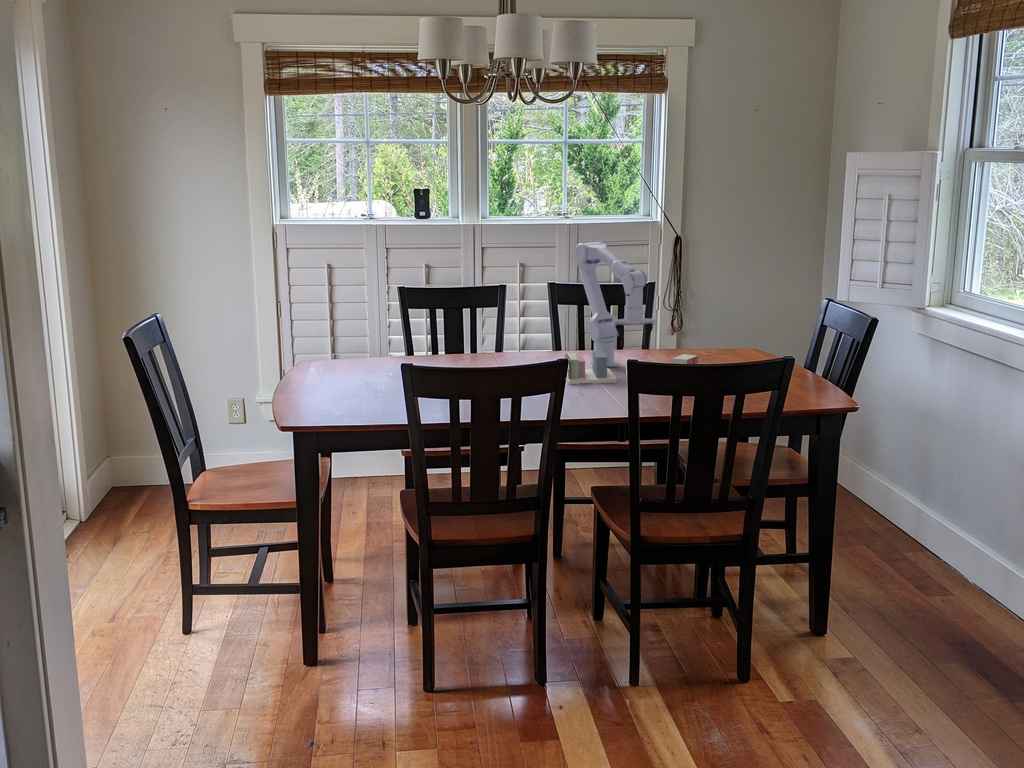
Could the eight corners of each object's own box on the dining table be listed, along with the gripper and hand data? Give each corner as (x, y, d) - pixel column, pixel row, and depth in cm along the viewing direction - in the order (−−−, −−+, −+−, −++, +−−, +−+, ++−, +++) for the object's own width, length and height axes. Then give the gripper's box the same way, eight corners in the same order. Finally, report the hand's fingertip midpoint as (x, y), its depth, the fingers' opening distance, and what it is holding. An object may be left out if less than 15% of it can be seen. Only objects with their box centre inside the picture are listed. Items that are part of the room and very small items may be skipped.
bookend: (564, 371, 338) (564, 354, 336) (567, 371, 338) (567, 354, 336) (568, 379, 326) (568, 361, 325) (571, 379, 326) (571, 361, 325)
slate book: (592, 371, 337) (592, 351, 335) (602, 370, 337) (602, 350, 335) (596, 377, 327) (596, 357, 326) (607, 377, 327) (607, 356, 326)
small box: (686, 392, 311) (686, 359, 308) (670, 390, 314) (670, 357, 312) (697, 387, 317) (698, 355, 315) (682, 385, 320) (682, 353, 318)
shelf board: (563, 373, 340) (563, 369, 340) (609, 371, 341) (609, 368, 340) (568, 384, 324) (568, 380, 324) (616, 382, 325) (616, 379, 325)
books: (567, 371, 337) (567, 353, 335) (581, 371, 337) (581, 353, 335) (571, 378, 327) (570, 359, 326) (585, 378, 327) (585, 359, 326)
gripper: (614, 309, 329) (614, 349, 332) (657, 308, 329) (657, 347, 333) (611, 306, 335) (611, 345, 339) (653, 304, 336) (652, 343, 339)
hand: (633, 346), depth 336 cm, fingers open, 7 cm apart
